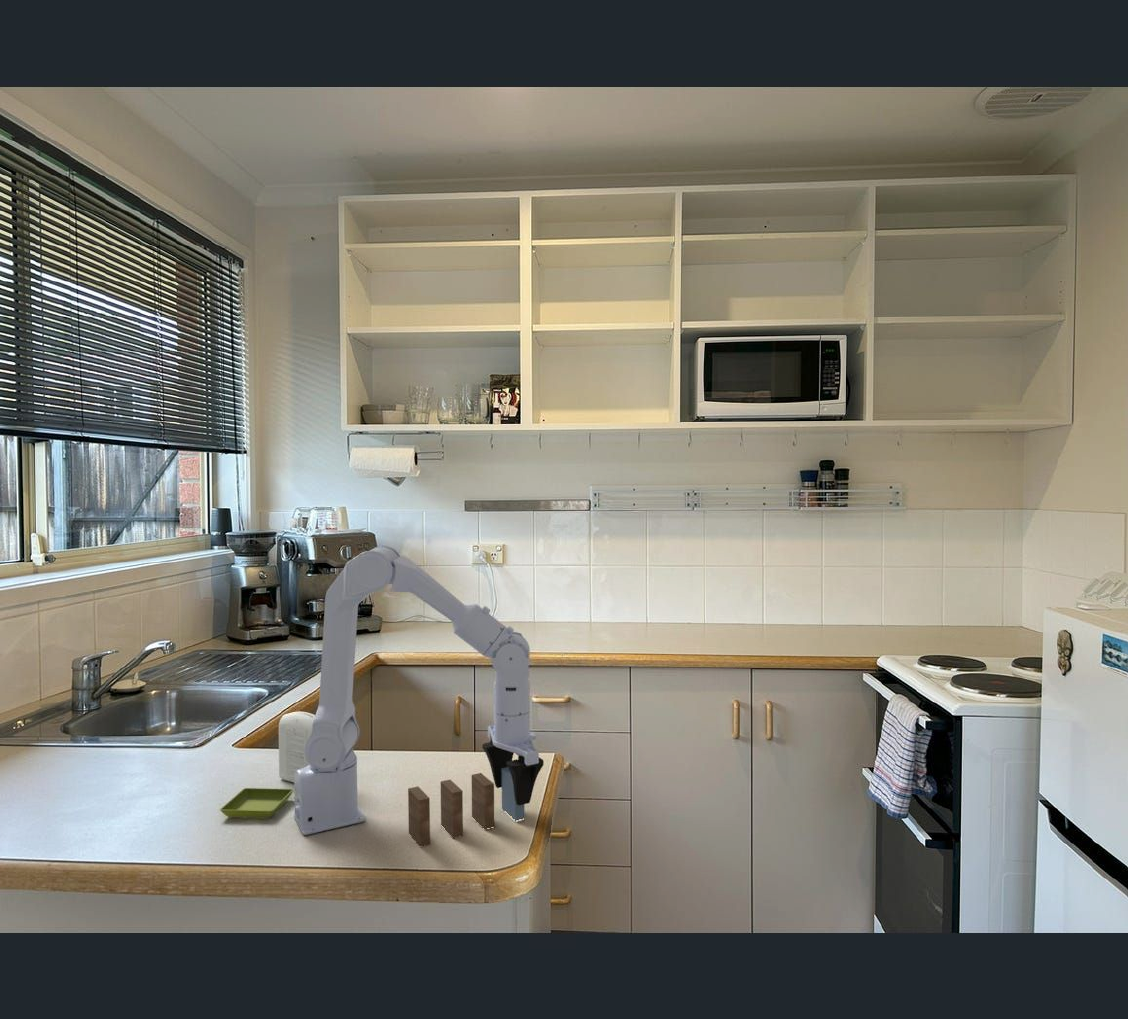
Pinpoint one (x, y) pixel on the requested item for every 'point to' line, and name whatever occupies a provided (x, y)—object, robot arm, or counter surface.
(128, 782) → the counter surface
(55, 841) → the counter surface
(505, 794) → the end domino
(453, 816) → the domino
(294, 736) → the white rounded tombstone
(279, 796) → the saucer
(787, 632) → the counter surface
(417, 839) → the domino
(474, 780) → the domino
